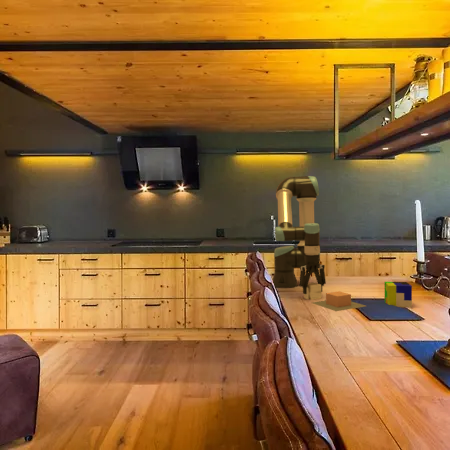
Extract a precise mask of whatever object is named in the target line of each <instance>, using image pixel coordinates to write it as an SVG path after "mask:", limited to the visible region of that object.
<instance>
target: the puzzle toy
mask: <svg viewBox="0 0 450 450" xmlns="http://www.w3.org/2000/svg"><path fill="white" fill-rule="evenodd" d="M412 294H413V286H412V285H411V284H410V283H408V281H384V303H385V304H387V305H389V306H394V307H398V308H406V309H407V308H413V301H412V300H413V295H412Z"/></svg>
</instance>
